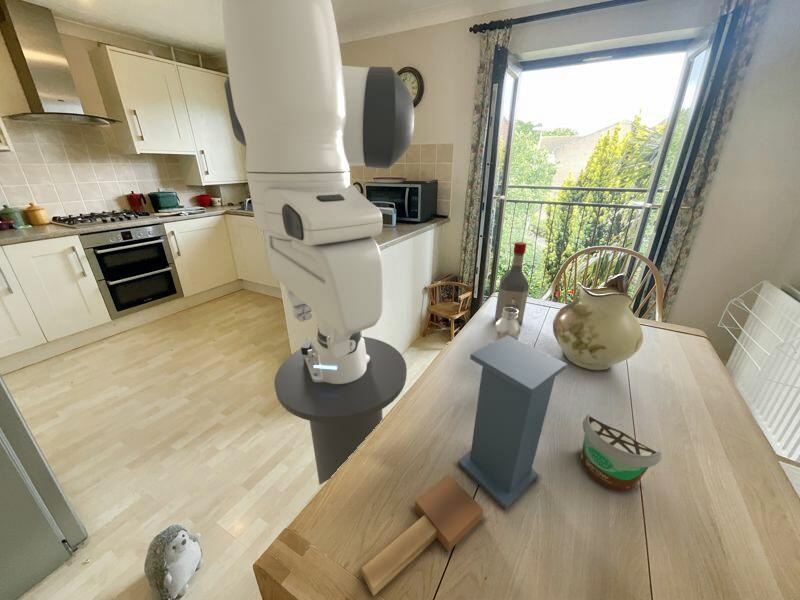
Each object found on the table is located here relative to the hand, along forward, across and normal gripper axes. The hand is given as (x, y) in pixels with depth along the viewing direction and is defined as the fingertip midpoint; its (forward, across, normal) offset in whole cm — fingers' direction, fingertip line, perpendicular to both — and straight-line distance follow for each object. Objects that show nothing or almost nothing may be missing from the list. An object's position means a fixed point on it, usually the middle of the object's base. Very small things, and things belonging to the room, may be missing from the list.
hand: (319, 334), depth 34 cm
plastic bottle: (+37, -10, +55) cm, 67 cm away
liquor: (+37, -27, +83) cm, 95 cm away
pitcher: (+37, +1, +83) cm, 91 cm away
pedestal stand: (+37, +8, +29) cm, 48 cm away
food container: (+37, +21, +44) cm, 61 cm away
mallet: (+37, +8, +10) cm, 39 cm away
